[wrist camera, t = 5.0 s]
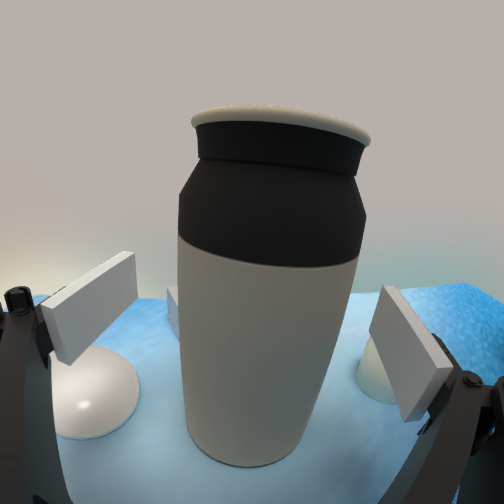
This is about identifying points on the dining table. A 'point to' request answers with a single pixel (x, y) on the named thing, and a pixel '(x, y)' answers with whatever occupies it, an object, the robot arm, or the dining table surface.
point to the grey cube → (173, 309)
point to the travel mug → (264, 273)
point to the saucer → (93, 393)
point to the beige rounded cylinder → (374, 376)
